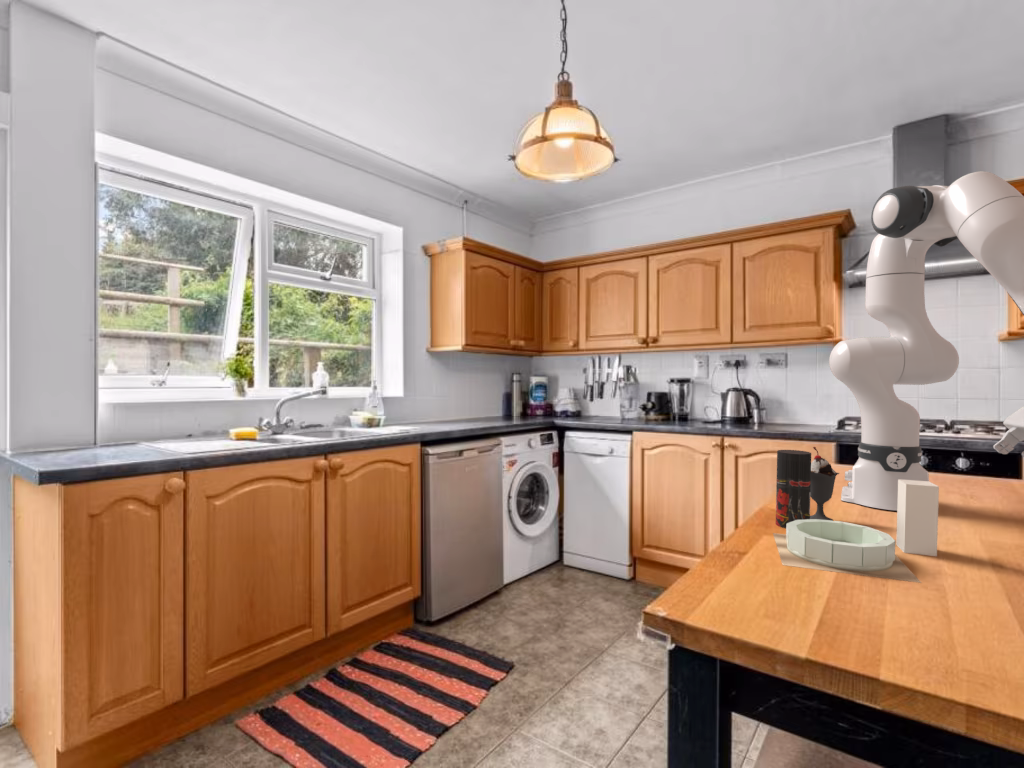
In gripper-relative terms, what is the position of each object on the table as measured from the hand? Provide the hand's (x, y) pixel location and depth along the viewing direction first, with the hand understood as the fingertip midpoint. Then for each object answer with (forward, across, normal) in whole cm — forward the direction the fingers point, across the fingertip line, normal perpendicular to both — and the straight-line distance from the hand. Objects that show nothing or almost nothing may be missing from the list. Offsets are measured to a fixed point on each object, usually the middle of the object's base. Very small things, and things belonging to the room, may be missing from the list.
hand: (1012, 454), depth 87 cm
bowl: (+30, +8, -6) cm, 32 cm away
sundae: (+30, -17, -5) cm, 35 cm away
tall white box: (+21, 0, +4) cm, 22 cm away
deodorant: (+34, -8, -9) cm, 36 cm away
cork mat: (+30, +8, -6) cm, 32 cm away
